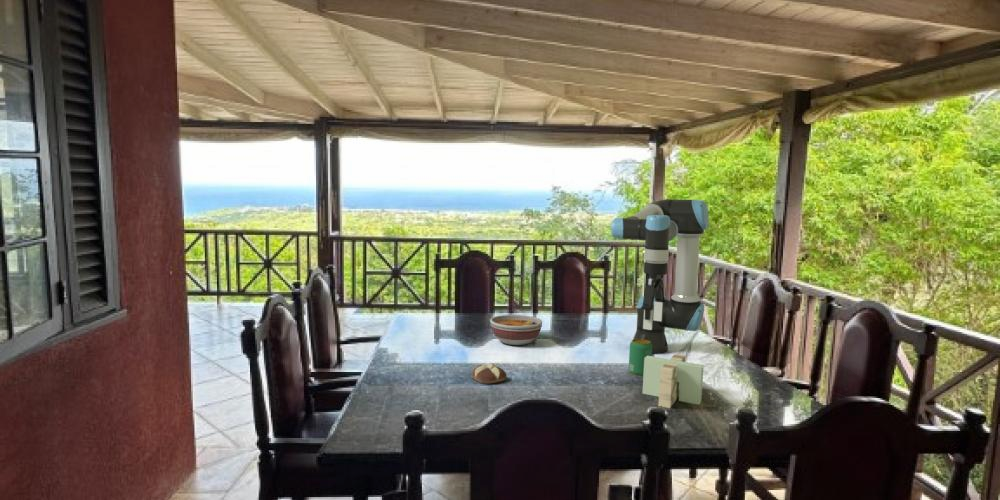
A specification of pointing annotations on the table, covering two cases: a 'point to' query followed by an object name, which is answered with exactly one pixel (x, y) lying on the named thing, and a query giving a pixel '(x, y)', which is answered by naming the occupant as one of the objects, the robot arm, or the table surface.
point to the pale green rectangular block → (686, 376)
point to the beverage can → (638, 355)
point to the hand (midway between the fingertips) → (652, 324)
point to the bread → (488, 374)
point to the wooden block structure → (669, 382)
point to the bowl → (515, 328)
